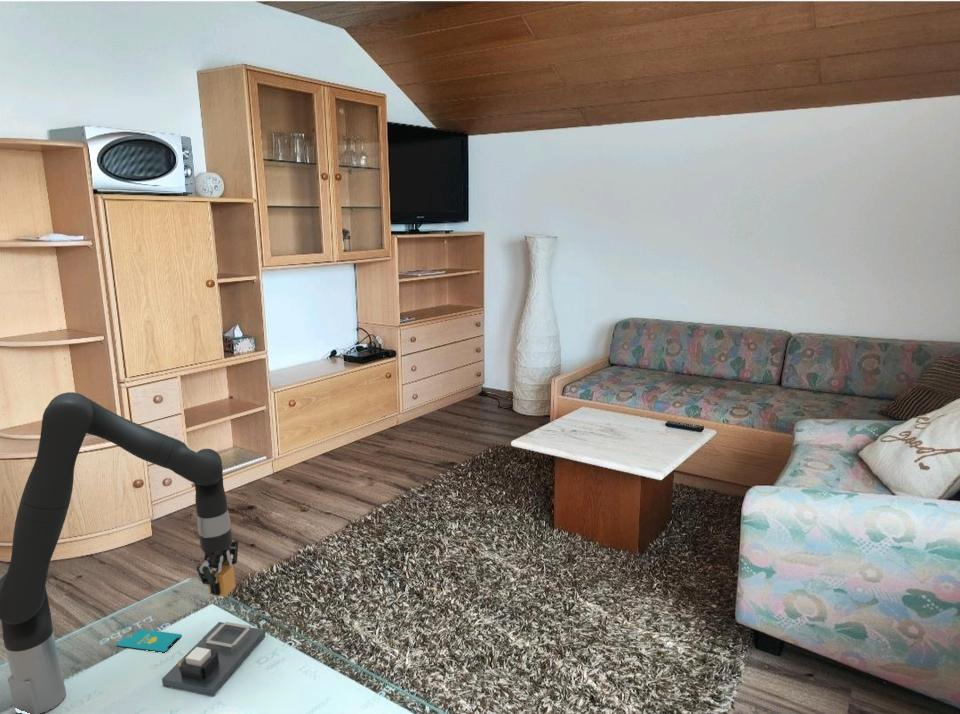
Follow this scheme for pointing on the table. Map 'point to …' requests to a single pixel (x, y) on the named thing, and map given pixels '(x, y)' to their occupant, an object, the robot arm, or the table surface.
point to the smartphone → (150, 641)
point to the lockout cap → (225, 580)
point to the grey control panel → (215, 658)
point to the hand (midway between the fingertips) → (222, 588)
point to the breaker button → (198, 656)
